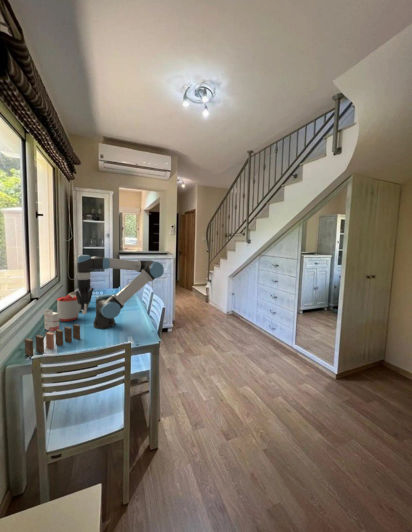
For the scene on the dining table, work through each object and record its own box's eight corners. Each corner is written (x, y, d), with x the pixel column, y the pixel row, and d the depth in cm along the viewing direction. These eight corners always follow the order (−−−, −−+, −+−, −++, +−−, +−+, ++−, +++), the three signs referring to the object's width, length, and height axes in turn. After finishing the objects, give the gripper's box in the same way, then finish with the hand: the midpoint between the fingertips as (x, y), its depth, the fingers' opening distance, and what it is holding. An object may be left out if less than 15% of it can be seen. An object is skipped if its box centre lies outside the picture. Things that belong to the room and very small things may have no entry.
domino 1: (28, 353, 135) (27, 338, 134) (33, 356, 133) (32, 340, 132) (25, 354, 134) (24, 339, 133) (30, 357, 131) (29, 341, 130)
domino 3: (49, 346, 145) (48, 331, 144) (54, 348, 143) (53, 333, 142) (46, 347, 143) (45, 332, 142) (51, 349, 141) (50, 334, 140)
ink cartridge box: (59, 329, 172) (59, 308, 170) (53, 331, 167) (52, 310, 165) (51, 327, 175) (50, 307, 173) (44, 329, 170) (43, 308, 168)
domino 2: (39, 349, 140) (38, 334, 139) (44, 352, 138) (43, 336, 137) (36, 351, 139) (35, 335, 138) (41, 353, 136) (40, 337, 135)
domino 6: (75, 337, 159) (75, 323, 158) (80, 338, 157) (79, 325, 156) (73, 338, 158) (72, 324, 157) (77, 339, 156) (77, 326, 155)
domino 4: (58, 343, 150) (58, 329, 149) (63, 345, 147) (62, 330, 146) (55, 344, 148) (55, 329, 147) (60, 346, 146) (60, 331, 145)
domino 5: (67, 340, 155) (66, 326, 154) (72, 341, 152) (71, 328, 151) (64, 340, 153) (64, 327, 152) (69, 342, 151) (69, 328, 150)
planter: (69, 308, 220) (69, 291, 219) (90, 306, 227) (90, 290, 226) (67, 313, 205) (67, 296, 203) (90, 312, 212) (89, 294, 211)
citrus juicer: (81, 315, 203) (81, 291, 201) (77, 322, 187) (77, 296, 185) (60, 316, 198) (60, 292, 196) (54, 323, 182) (53, 297, 180)
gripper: (89, 276, 166) (89, 310, 168) (70, 279, 155) (71, 315, 157) (96, 278, 162) (96, 312, 165) (78, 280, 151) (78, 317, 154)
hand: (84, 313), depth 161 cm, fingers closed
